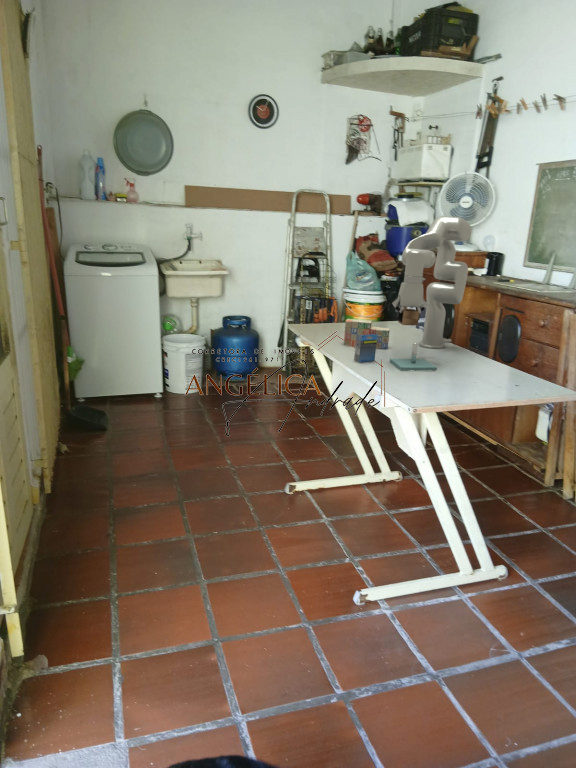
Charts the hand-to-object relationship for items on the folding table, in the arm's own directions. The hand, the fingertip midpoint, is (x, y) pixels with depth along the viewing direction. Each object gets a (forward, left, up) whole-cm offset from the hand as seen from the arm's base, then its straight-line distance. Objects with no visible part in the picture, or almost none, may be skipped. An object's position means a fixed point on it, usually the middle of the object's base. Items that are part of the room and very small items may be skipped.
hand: (408, 321), depth 241 cm
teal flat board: (-1, +8, -18) cm, 20 cm away
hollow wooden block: (0, 0, -1) cm, 1 cm away
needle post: (-1, +8, -17) cm, 18 cm away
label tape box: (+18, -1, -18) cm, 26 cm away
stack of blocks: (+9, -29, -19) cm, 35 cm away
